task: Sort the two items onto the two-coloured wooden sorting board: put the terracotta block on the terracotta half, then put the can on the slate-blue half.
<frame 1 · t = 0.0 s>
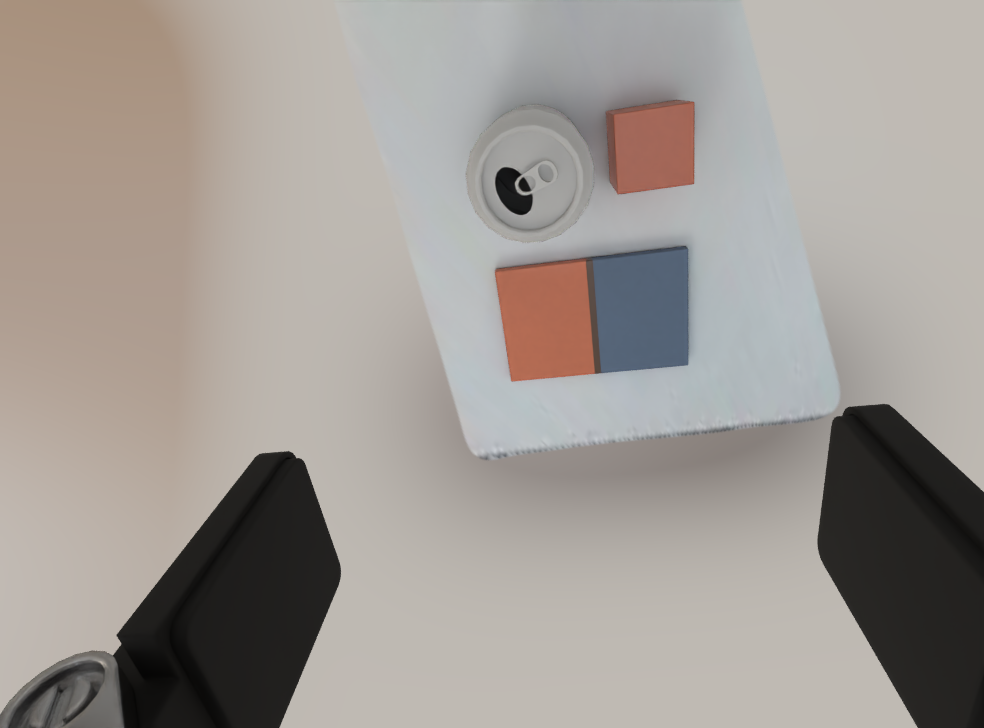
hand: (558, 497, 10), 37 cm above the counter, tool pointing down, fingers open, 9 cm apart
terracotta block: (642, 142, 41), on the counter
can: (533, 158, 43), on the counter
sorting board: (593, 316, 48), on the counter
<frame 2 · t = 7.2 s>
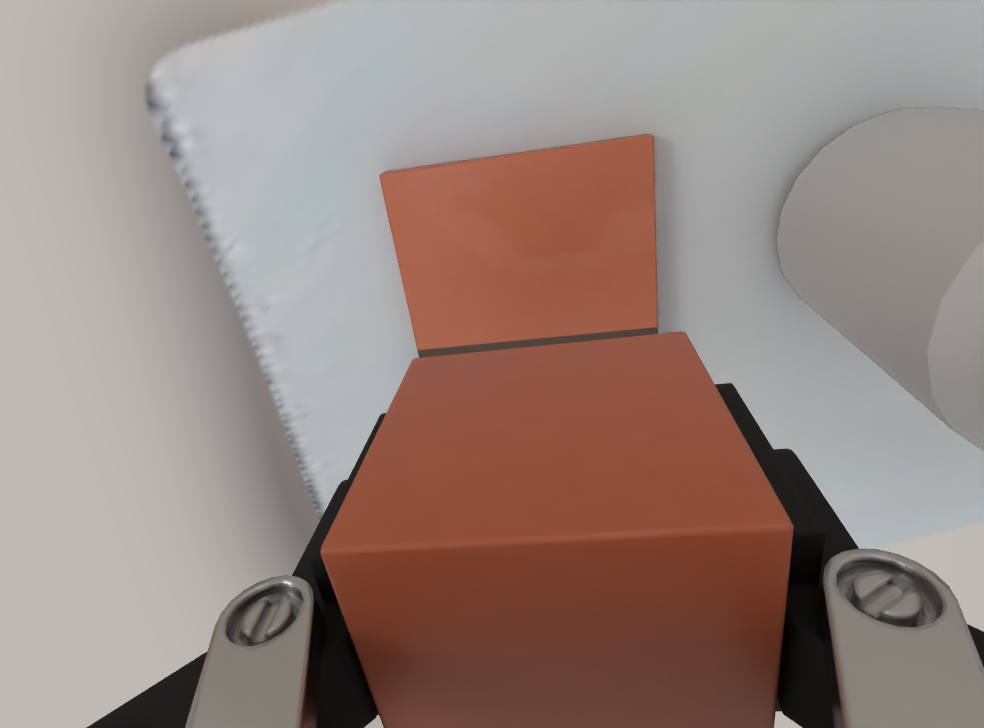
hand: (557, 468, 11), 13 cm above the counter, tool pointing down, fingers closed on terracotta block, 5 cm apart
terracotta block: (557, 456, 11), point 13 cm above the counter, touching gripper
can: (872, 215, 21), on the counter
sorting board: (535, 337, 24), on the counter
when the fingers open (1 cm above the counter, at t = 10.3 s): terracotta block stays where it is, resting on sorting board.
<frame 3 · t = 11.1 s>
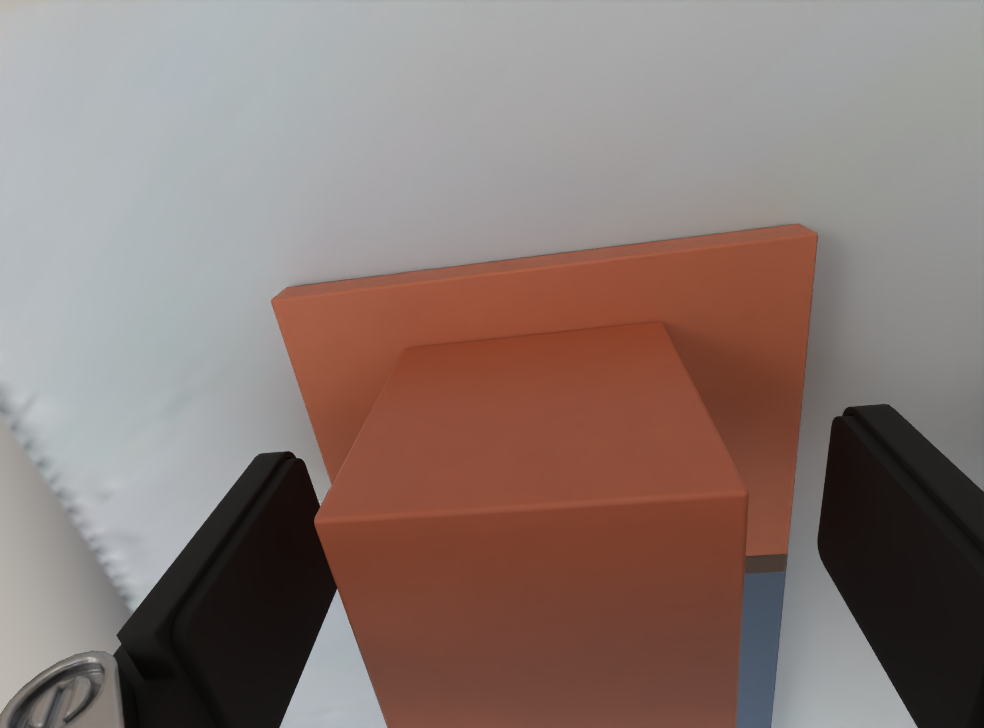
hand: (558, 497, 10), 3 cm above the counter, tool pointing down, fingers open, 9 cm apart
terracotta block: (543, 443, 12), point 1 cm above the counter, touching sorting board
sorting board: (563, 549, 14), on the counter
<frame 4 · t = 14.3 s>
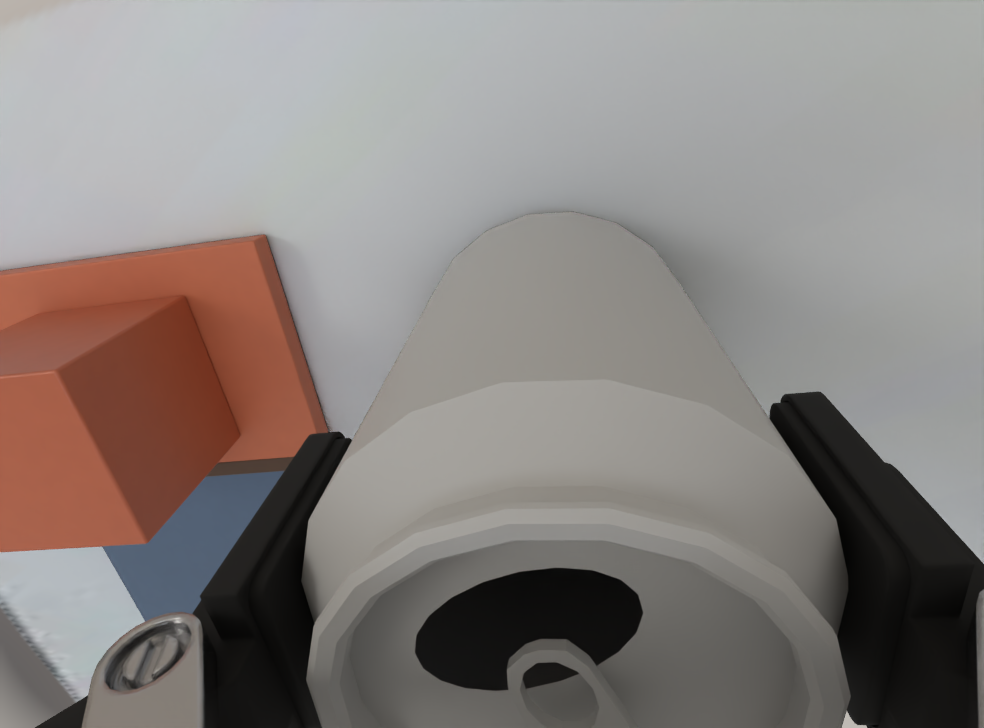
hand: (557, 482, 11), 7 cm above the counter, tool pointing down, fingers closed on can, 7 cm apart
terracotta block: (143, 377, 18), point 1 cm above the counter, touching sorting board
can: (554, 328, 17), on the counter, touching gripper
sorting board: (202, 457, 21), on the counter
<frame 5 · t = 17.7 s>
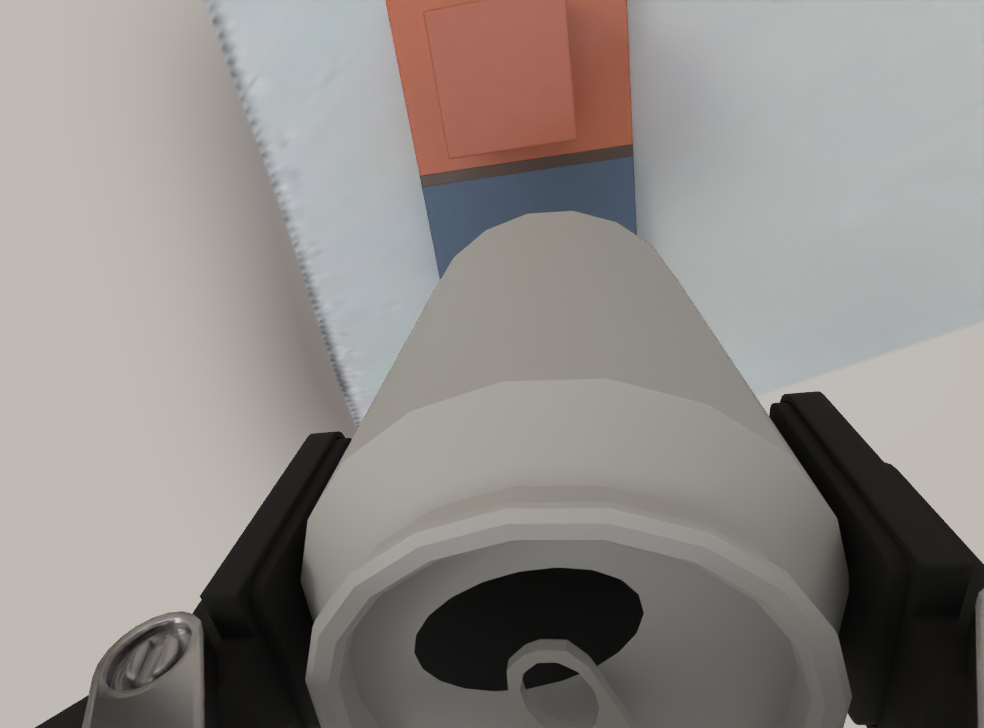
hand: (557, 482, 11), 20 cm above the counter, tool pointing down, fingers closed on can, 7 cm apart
terracotta block: (510, 78, 25), point 1 cm above the counter, touching sorting board
can: (554, 328, 17), point 13 cm above the counter, touching gripper
sorting board: (524, 164, 27), on the counter
when the fingers open (8 cm above the counter, at t = 21.0 s): can stays where it is, resting on sorting board.
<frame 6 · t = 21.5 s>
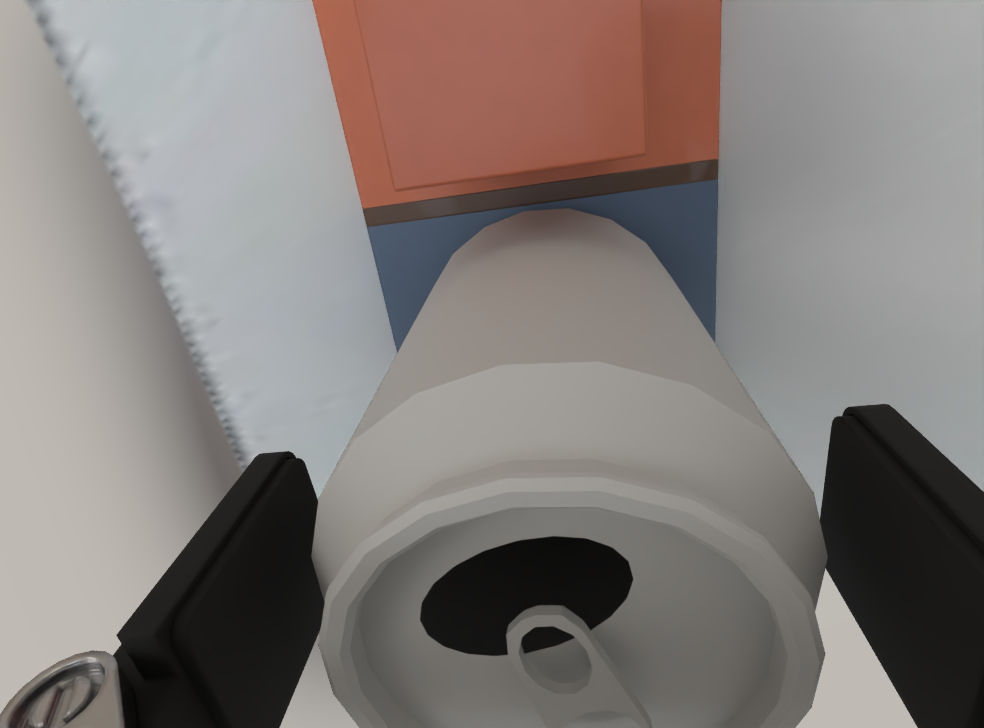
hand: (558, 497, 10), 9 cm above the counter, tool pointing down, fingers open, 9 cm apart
terracotta block: (512, 45, 14), point 1 cm above the counter, touching sorting board
can: (550, 322, 18), point 1 cm above the counter, touching sorting board
sorting board: (534, 189, 17), on the counter
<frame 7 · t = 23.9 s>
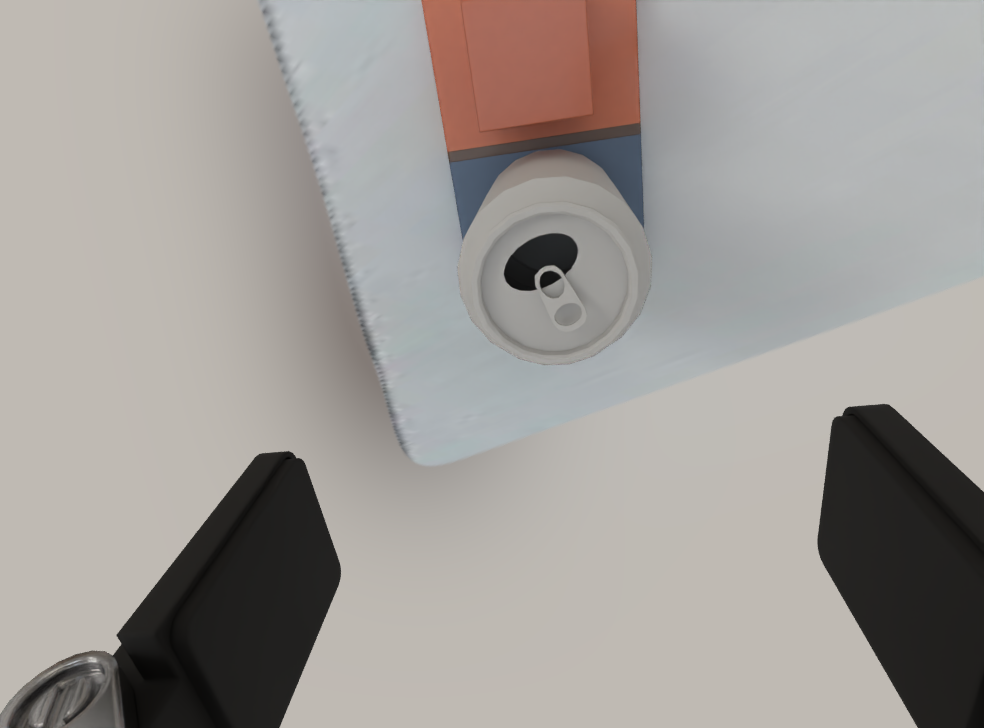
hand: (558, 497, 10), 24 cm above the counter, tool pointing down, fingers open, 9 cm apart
terracotta block: (531, 63, 28), point 1 cm above the counter, touching sorting board
can: (551, 219, 31), point 1 cm above the counter, touching sorting board
sorting board: (542, 141, 30), on the counter
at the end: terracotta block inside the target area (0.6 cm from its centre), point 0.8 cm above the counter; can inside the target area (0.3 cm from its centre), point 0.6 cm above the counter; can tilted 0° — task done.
